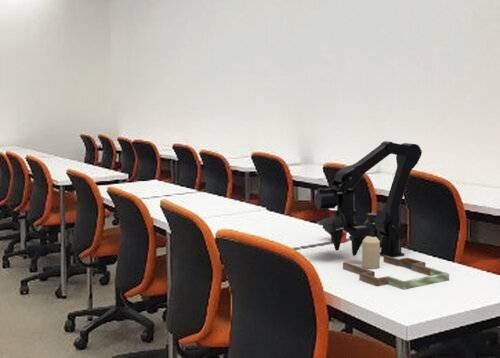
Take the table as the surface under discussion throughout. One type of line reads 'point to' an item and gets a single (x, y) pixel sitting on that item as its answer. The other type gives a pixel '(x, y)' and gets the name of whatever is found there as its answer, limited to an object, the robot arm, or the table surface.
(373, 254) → the candle
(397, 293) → the table surface
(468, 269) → the table surface
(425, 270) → the trap lane
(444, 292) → the table surface
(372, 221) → the supplement bottle
